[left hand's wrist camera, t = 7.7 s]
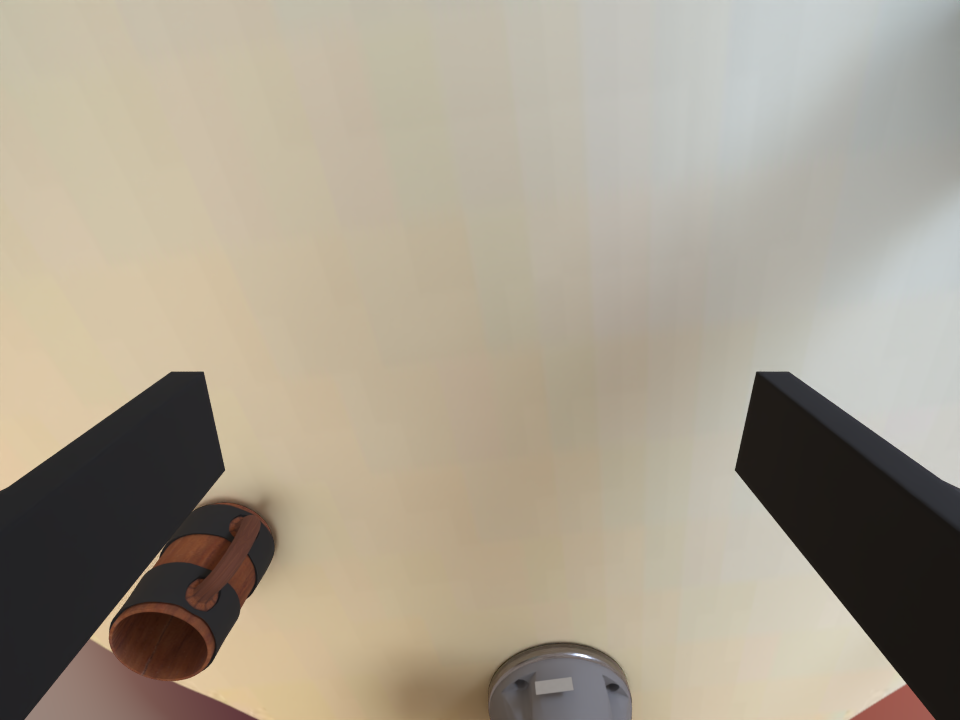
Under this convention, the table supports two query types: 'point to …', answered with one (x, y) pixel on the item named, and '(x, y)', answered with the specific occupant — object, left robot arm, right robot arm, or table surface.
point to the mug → (192, 593)
